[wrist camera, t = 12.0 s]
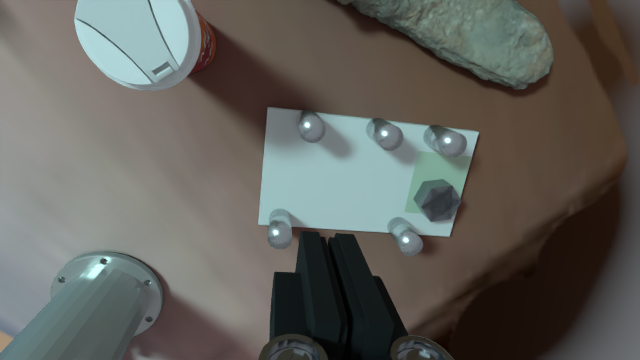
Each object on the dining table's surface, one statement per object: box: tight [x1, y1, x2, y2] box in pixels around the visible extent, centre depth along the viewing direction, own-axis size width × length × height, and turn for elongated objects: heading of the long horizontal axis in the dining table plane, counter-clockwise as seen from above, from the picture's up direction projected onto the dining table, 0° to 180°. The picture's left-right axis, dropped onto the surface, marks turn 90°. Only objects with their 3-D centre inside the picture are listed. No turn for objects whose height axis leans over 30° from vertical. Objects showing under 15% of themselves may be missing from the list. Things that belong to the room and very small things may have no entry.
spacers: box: [268, 110, 467, 256], centre depth 38 cm, size 15×20×5 cm
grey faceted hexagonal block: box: [413, 179, 462, 222], centre depth 41 cm, size 4×5×2 cm
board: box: [258, 107, 479, 237], centre depth 41 cm, size 14×25×1 cm, turn 82°
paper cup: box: [75, 0, 216, 91], centre depth 27 cm, size 8×8×14 cm
